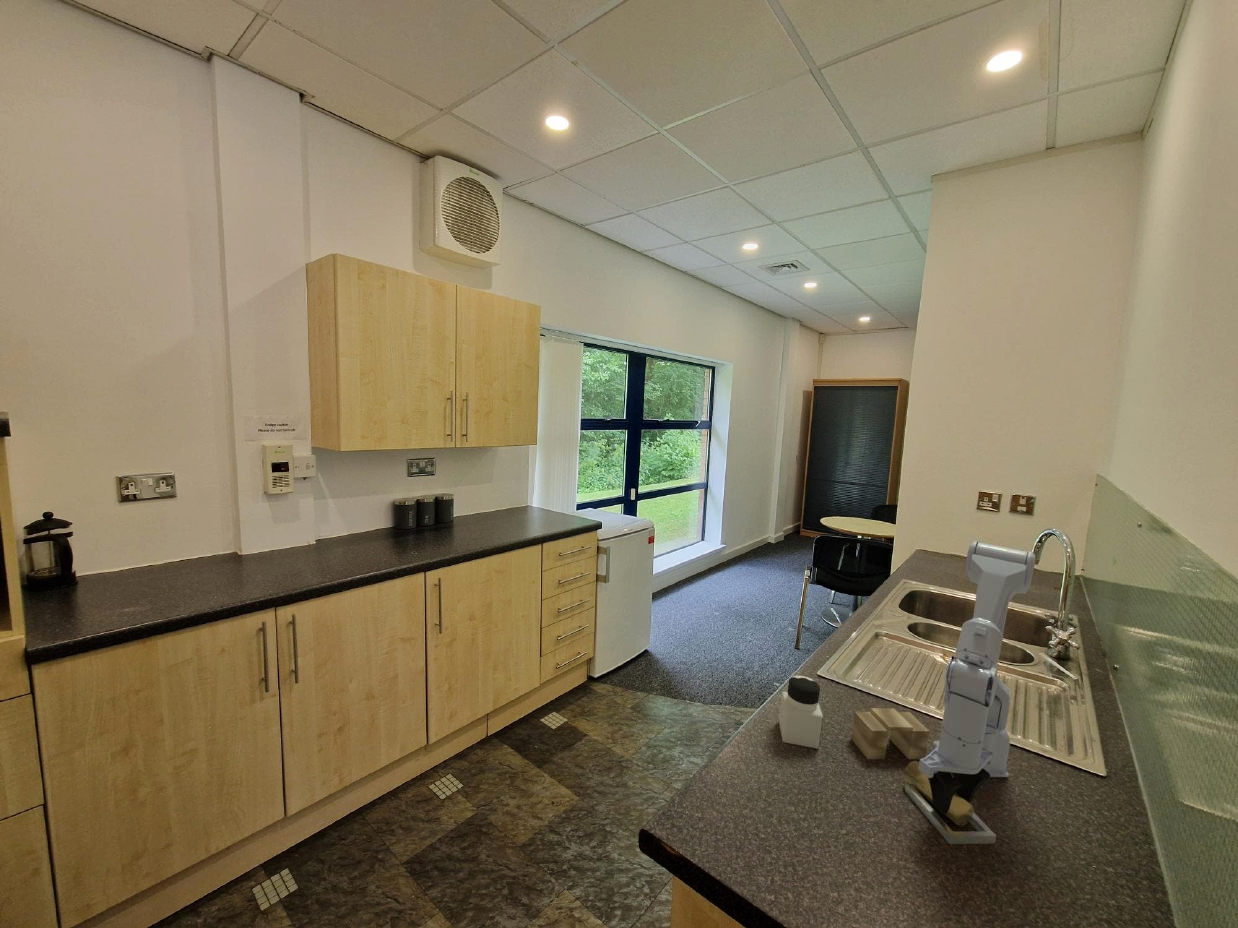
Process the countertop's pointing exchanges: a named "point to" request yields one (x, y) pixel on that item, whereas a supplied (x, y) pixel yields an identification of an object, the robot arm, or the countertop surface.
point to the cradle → (951, 837)
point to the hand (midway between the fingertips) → (950, 806)
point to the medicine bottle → (801, 713)
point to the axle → (958, 809)
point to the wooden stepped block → (904, 733)
